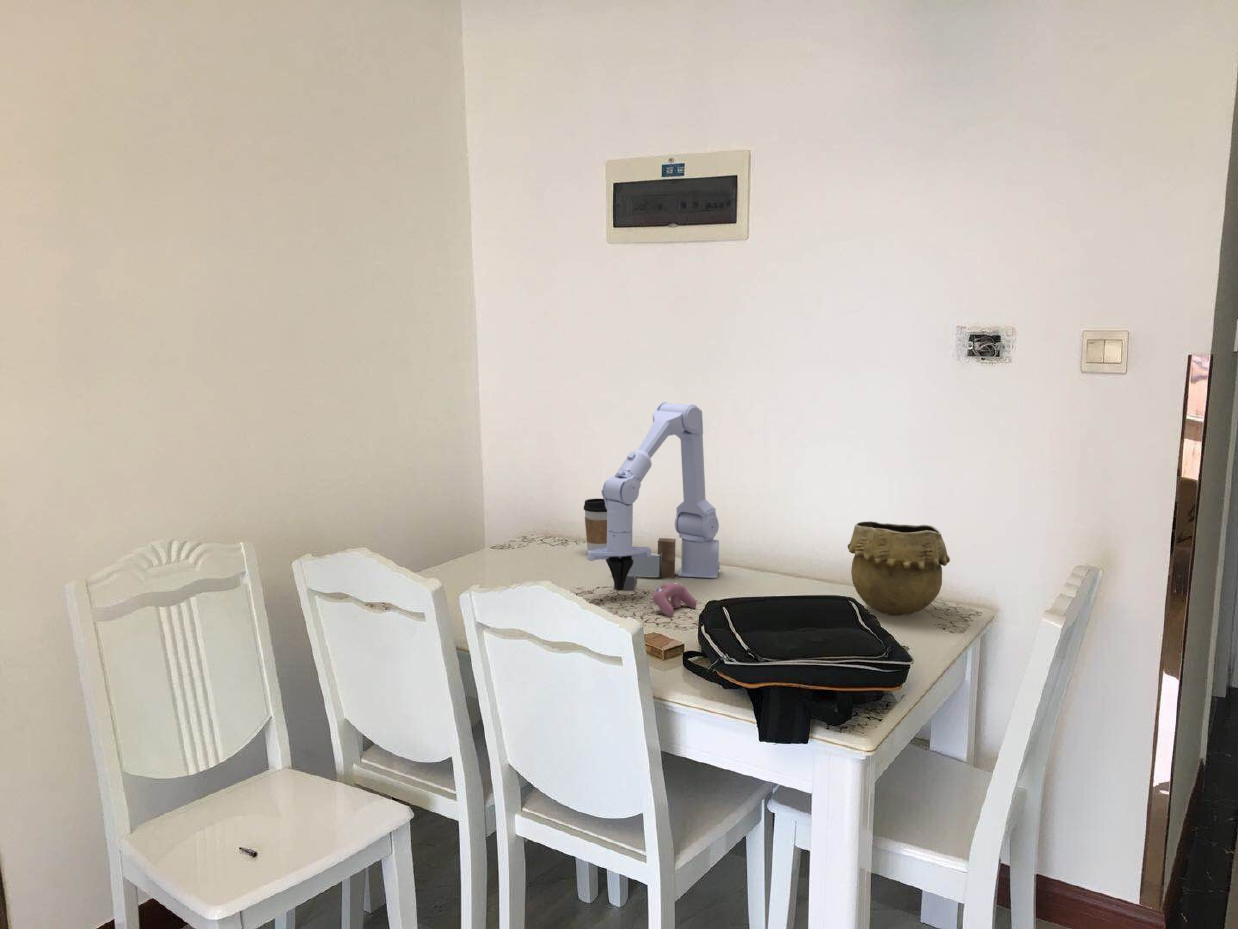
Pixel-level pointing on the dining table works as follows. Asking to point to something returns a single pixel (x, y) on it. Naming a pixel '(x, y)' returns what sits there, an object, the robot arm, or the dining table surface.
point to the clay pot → (897, 566)
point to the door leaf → (646, 566)
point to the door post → (667, 557)
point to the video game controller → (672, 598)
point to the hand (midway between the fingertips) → (618, 589)
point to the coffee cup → (596, 523)
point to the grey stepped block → (629, 582)
